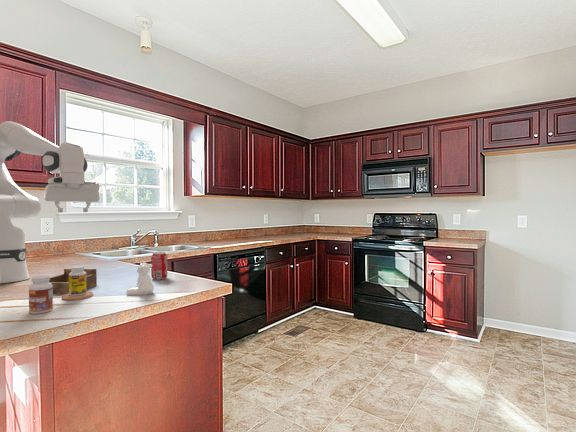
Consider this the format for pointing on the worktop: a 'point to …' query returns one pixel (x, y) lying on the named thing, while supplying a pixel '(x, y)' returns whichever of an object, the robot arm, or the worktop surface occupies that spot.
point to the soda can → (159, 265)
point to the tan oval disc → (69, 297)
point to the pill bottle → (40, 295)
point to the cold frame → (62, 281)
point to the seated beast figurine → (142, 281)
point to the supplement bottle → (77, 281)
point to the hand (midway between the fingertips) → (73, 212)
